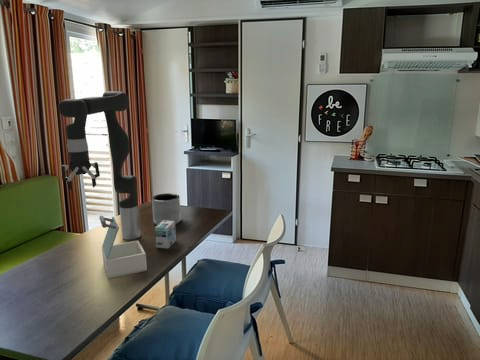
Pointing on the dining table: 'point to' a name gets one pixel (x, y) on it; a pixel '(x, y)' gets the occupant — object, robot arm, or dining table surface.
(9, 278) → the dining table surface
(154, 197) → the planter
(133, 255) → the cabinet
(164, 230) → the light bulb box
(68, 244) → the dining table surface
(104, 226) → the door
